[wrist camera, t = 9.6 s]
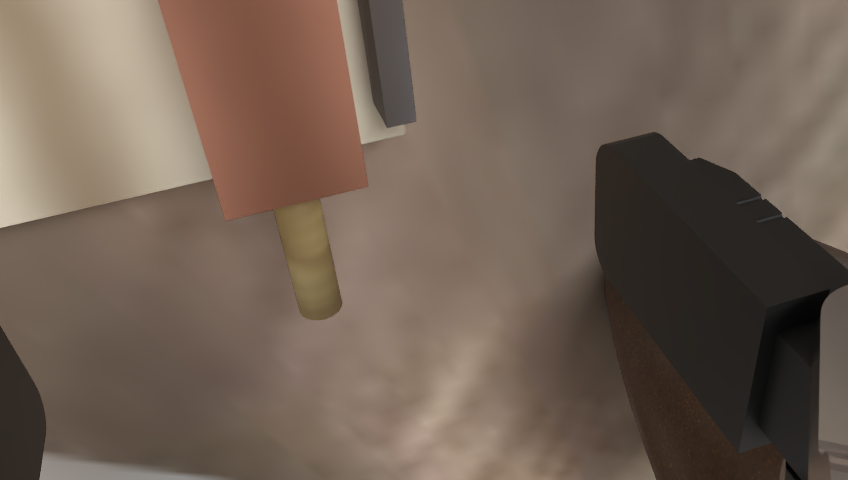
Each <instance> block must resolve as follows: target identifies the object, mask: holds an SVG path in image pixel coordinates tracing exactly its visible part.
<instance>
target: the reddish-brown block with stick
mask: <svg viewBox="0 0 848 480" xmlns="http://www.w3.org/2000/svg"><path fill="white" fill-rule="evenodd" d="M158 2H159V6H160V9H161V12H162V15H163V19H164V22H165V25H166V29H167V32H168V35H169V38H170V42H171V45H172V48H173V51H174V55H175V58H176V61H177V64H178V68H179V71H180V74H181V77H182V81H183V84H184V87H185V90H186V94H187V97H188V100H189V103H190V107H191V110H192V113H193V117H194V120H195V123H196V126H197V130H198V133H199V136H200V139H201V143H202V146H203V149H204V152H205V156H206V159H207V162H208V165H209V169H210V172H211V175H212V178H213V182H214V185H215V188H216V191H217V195H218V198H219V201H220V204H221V208H222V211H223V214H224V218H225V221H228V220H232V219H236V218H240V217H244V216H248V215H253V214H257V213H261V212H265V211H269V210H274V214H275V218H276V222H277V226H278V229H279V233H280V237H281V241H282V245H283V249H284V253H285V256H286V260H287V264H288V268H289V272H290V276H291V279H292V283H293V287H294V291H295V295H296V299H297V303H298V306H299V310H300V313H301V315H302V316H303V317H305V318H307V319H310V320H323V319H327V318H329V317H331V316H333V315H335V314H336V313H337V312H338V311H339V310H340V308H341V306H342V300H341V295H340V291H339V286H338V281H337V277H336V272H335V267H334V263H333V258H332V253H331V249H330V244H329V240H328V235H327V230H326V226H325V221H324V216H323V212H322V207H321V202H320V198H323V197H327V196H331V195H336V194H340V193H344V192H348V191H352V190H356V189H360V188H365V187H368V181H367V175H366V169H365V163H364V158H363V152H362V146H361V140H360V134H359V128H358V122H357V116H356V110H355V104H354V99H353V93H352V87H351V81H350V75H349V69H348V63H347V57H346V51H345V45H344V40H343V34H342V28H341V22H340V16H339V10H338V4H337V0H158Z"/></svg>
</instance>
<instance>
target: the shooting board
mask: <svg viewBox="0 0 848 480" xmlns="http://www.w3.org/2000/svg"><path fill="white" fill-rule="evenodd" d="M337 4H338V10H339V16H340V22H341V28H342V34H343V40H344V45H345V51H346V57H347V63H348V69H349V75H350V81H351V87H352V93H353V99H354V104H355V110H356V116H357V122H358V128H359V134H360V140H361V144H366V143H370V142H374V141H379V140H383V139H387V138H392V137H396V136H400V135H405V134H406V131H405V124H408V123H412V122H417V121H416V113H415V104H414V96H413V87H412V79H411V70H410V62H409V54H408V45H407V37H406V28H405V20H404V12H403V3H402V0H337ZM210 179H213V178H212V175H211V172H210V169H209V165H208V162H207V159H206V156H205V152H204V149H203V146H202V143H201V139H200V136H199V133H198V130H197V126H196V123H195V120H194V117H193V113H192V110H191V107H190V103H189V100H188V97H187V94H186V90H185V87H184V84H183V81H182V77H181V74H180V71H179V68H178V64H177V61H176V58H175V55H174V51H173V48H172V45H171V42H170V38H169V35H168V32H167V29H166V25H165V22H164V19H163V15H162V12H161V9H160V6H159V2H158V0H0V228H2V227H7V226H11V225H15V224H19V223H24V222H28V221H32V220H37V219H41V218H45V217H50V216H54V215H58V214H63V213H67V212H71V211H76V210H80V209H84V208H89V207H93V206H97V205H102V204H106V203H110V202H115V201H119V200H123V199H128V198H132V197H136V196H141V195H145V194H149V193H154V192H158V191H162V190H167V189H171V188H175V187H180V186H184V185H188V184H193V183H197V182H201V181H206V180H210Z"/></svg>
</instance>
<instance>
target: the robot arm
mask: <svg viewBox="0 0 848 480" xmlns="http://www.w3.org/2000/svg"><path fill="white" fill-rule="evenodd" d="M595 246H596V251H597V255H598V258H599V262H600V264H601V267H602V269H603V271H604V273H605V275H606V277H607V279H608V280H609V281H610V283H611V284H612V285H613V287H614V288H615V290H616V291H617V292H618V294H619V295H620V296H621V298H622V299H623V300H624V302H625V303H626V304H627V306H628V307H629V308H630V310H631V311H632V312H633V314H634V315H635V316H636V318H637V319H638V320H639V322H640V323H641V324H642V326H643V327H644V328H645V330H646V331H647V332H648V334H649V335H650V336H651V338H652V339H653V340H654V342H655V343H656V344H657V346H658V347H659V348H660V350H661V351H662V352H663V354H664V355H665V356H666V358H667V359H668V360H669V362H670V363H671V364H672V366H673V367H674V368H675V370H676V371H677V372H678V374H679V375H680V376H681V378H682V379H683V380H684V382H685V383H686V384H687V386H688V387H689V388H690V390H691V391H692V392H693V394H694V395H695V396H696V398H697V399H698V400H699V402H700V403H701V404H702V406H703V407H704V408H705V410H706V411H707V412H708V414H709V415H710V416H711V418H712V419H713V420H714V422H715V423H716V424H717V426H718V427H719V428H720V430H721V431H722V432H723V434H724V435H725V436H726V438H727V439H728V440H729V442H730V443H731V444H732V446H733V447H734V448H735V450H736V451H737V452H738V453H742V452H745V451H748V450H751V449H754V448H757V447H760V446H763V445H766V444H770V443H772V444H773V445H774V446H775V448H776V449H777V450H778V451H779V453H780V454H781V455H782V456H783V458H784V459H783V462H782V466H781V472H780V480H848V269H847V268H846V267H844V266H843V265H842V264H841V263H840V262H839V261H837V260H836V259H835V258H834V257H833V256H832V255H830V254H829V253H828V252H827V251H826V250H825V249H823V248H822V247H821V246H820V245H819V244H818V243H816V242H815V241H814V240H813V239H812V238H811V237H809V236H808V235H807V234H806V233H805V232H804V231H802V230H801V229H800V228H799V227H798V226H797V225H796V224H794V223H793V222H792V221H791V220H790V219H789V218H787V217H786V218H783V217H782V212H780V211H779V210H778V209H777V208H776V207H775V206H773V205H772V204H771V203H770V202H769V201H768V200H766V199H764V200H762V199H761V194H759V193H758V192H757V191H756V190H755V189H754V188H752V187H751V186H750V185H749V184H748V183H747V182H745V181H744V180H743V179H742V178H741V177H740V176H738V175H737V174H736V173H734V172H732V171H730V170H727V169H725V168H723V167H720V166H718V165H716V164H713V163H711V162H709V161H706V160H704V159H702V158H697V159H693V160H688V159H687V158H686V157H685V156H684V155H683V154H682V153H681V152H680V151H678V150H677V149H676V148H675V147H674V146H673V145H672V144H671V143H670V142H669V141H667V140H666V139H665V138H664V137H663V136H662V135H660V134H659V133H656V132H652V133H648V134H644V135H640V136H636V137H632V138H628V139H624V140H620V141H616V142H612V143H608V144H604V145H602V146H601V147H600V148H599V150H598V152H597V157H596V186H595ZM45 436H46V419H45V412H44V407H43V403H42V400H41V397H40V394H39V391H38V389H37V387H36V385H35V383H34V381H33V380H32V378H31V376H30V375H29V373H28V371H27V370H26V368H25V366H24V365H23V363H22V361H21V360H20V358H19V356H18V355H17V353H16V351H15V350H14V348H13V346H12V345H11V343H10V341H9V340H8V338H7V336H6V335H5V333H4V331H3V330H2V328H1V326H0V480H39V478H40V471H41V464H42V457H43V450H44V443H45Z"/></svg>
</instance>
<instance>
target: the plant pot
mask: <svg viewBox="0 0 848 480" xmlns="http://www.w3.org/2000/svg"><path fill="white" fill-rule="evenodd" d="M814 241H815V242H816V243H818V244H819V245H820V246H821V247H822V248H823V249H825V250H826V251H827V252H828V253H829V254H830V255H832V256H833V257H834V258H835V259H836V260H837V261H839V262H840V263H841V264H842V265H843V266H844V267H846V268H847V269H848V253H846V252H844V251H841V250H839V249H836V248H834V247H831V246H829V245H826V244H824V243H821V242H819V241H816V240H814ZM605 296H606V303H607V309H608V315H609V320H610V325H611V331H612V336H613V340H614V345H615V349H616V353H617V357H618V361H619V365H620V369H621V373H622V376H623V380H624V384H625V387H626V391H627V394H628V398H629V401H630V404H631V408H632V411H633V414H634V417H635V420H636V423H637V426H638V429H639V432H640V435H641V438H642V441H643V444H644V447H645V450H646V452H647V455H648V458H649V460H650V463H651V466H652V468H653V471H654V474H655V477H656V479H657V480H780V472H781V466H782V462H783V459H784V458H783V456H782V455H781V454H780V453H779V451H778V450H777V449H776V448H775V446H774V445H773V444H772V443H770V444H766V445H763V446H760V447H757V448H754V449H751V450H748V451H745V452H742V453H738V452H737V451H736V450H735V448H734V447H733V446H732V444H731V443H730V442H729V440H728V439H727V438H726V436H725V435H724V434H723V432H722V431H721V430H720V428H719V427H718V426H717V424H716V423H715V422H714V420H713V419H712V418H711V416H710V415H709V414H708V412H707V411H706V410H705V408H704V407H703V406H702V404H701V403H700V402H699V400H698V399H697V398H696V396H695V395H694V394H693V392H692V391H691V390H690V388H689V387H688V386H687V384H686V383H685V382H684V380H683V379H682V378H681V376H680V375H679V374H678V372H677V371H676V370H675V368H674V367H673V366H672V364H671V363H670V362H669V360H668V359H667V358H666V356H665V355H664V354H663V352H662V351H661V350H660V348H659V347H658V346H657V344H656V343H655V342H654V340H653V339H652V338H651V336H650V335H649V334H648V332H647V331H646V330H645V328H644V327H643V326H642V324H641V323H640V322H639V320H638V319H637V318H636V316H635V315H634V314H633V312H632V311H631V310H630V308H629V307H628V306H627V304H626V303H625V302H624V300H623V299H622V298H621V296H620V295H619V294H618V292H617V291H616V290H615V288H614V287H613V285H612V284H611V283H610V281H609V280H608V279H607V277H606V280H605Z"/></svg>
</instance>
